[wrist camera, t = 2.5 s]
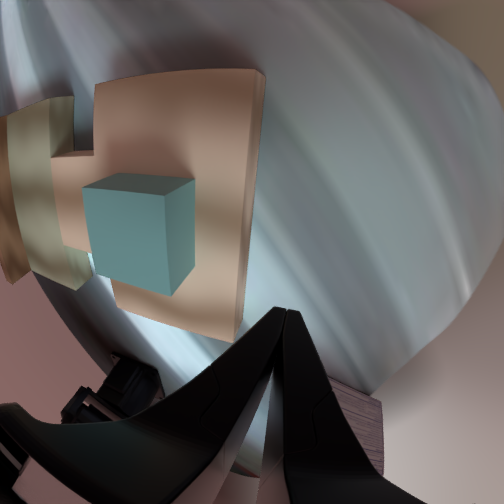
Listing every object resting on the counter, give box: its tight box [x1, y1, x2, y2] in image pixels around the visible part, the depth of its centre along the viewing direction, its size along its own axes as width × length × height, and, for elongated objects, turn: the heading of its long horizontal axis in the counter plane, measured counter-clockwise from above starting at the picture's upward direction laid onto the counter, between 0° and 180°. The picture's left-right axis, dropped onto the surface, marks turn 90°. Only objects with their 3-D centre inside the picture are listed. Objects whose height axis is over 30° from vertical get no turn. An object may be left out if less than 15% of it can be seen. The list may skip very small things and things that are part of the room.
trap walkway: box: [0, 69, 266, 343], centre depth 15 cm, size 16×24×6 cm, turn 85°
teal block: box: [82, 173, 195, 297], centre depth 13 cm, size 5×5×3 cm
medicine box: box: [328, 377, 384, 476], centre depth 18 cm, size 8×4×9 cm, turn 59°
